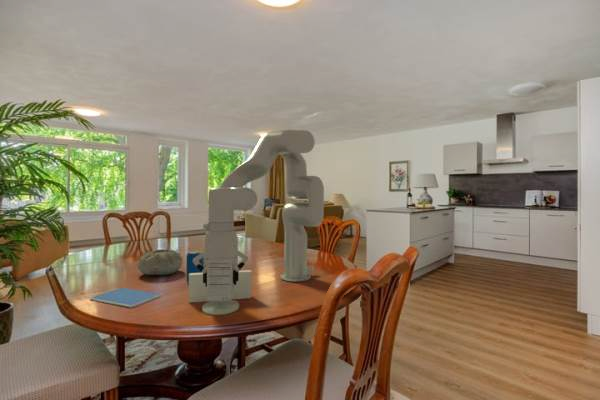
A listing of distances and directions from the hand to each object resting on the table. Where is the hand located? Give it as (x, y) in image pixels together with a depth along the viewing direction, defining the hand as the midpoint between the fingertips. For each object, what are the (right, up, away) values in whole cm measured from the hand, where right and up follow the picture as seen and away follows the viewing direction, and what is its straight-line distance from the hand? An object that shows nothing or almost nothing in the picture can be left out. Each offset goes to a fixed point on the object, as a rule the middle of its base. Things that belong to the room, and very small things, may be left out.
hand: (221, 284), depth 95 cm
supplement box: (0, -4, 0) cm, 4 cm away
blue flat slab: (-34, -8, +9) cm, 36 cm away
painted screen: (-2, -7, +8) cm, 11 cm away
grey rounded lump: (-36, -6, +39) cm, 54 cm away
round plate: (0, -7, 0) cm, 7 cm away
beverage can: (-17, -7, +27) cm, 33 cm away
